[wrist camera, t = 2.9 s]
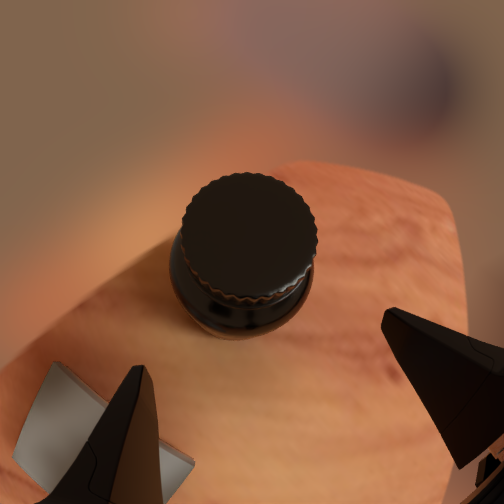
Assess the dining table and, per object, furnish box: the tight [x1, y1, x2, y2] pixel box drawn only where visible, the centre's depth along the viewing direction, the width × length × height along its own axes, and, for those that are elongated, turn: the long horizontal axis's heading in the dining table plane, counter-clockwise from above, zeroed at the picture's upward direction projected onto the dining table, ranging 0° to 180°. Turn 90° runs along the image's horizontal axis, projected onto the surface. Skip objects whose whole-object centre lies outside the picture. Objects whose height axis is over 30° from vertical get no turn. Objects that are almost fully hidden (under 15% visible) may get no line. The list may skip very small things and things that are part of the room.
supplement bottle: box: [169, 172, 318, 341], centre depth 15 cm, size 7×7×12 cm
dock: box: [12, 362, 195, 504], centre depth 13 cm, size 12×12×2 cm
